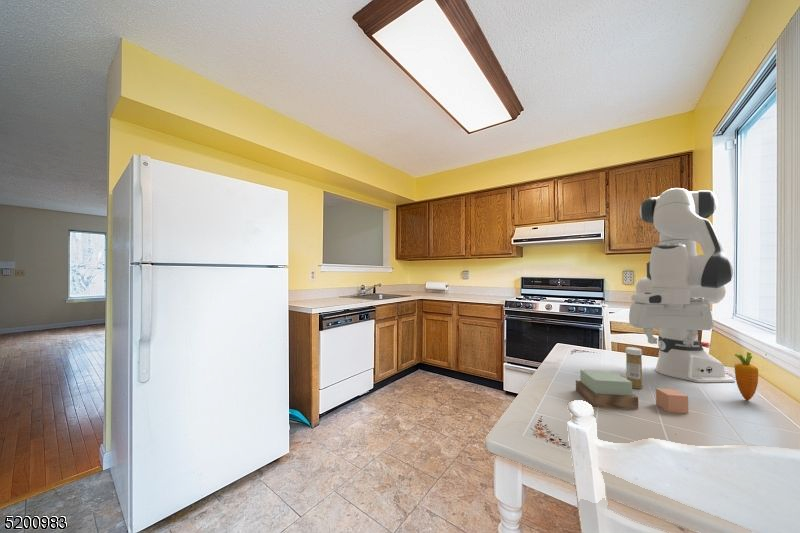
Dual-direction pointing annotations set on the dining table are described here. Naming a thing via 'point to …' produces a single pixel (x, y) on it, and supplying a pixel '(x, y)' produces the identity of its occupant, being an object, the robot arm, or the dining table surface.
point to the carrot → (746, 376)
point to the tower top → (606, 382)
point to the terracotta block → (672, 400)
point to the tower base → (607, 398)
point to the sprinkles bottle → (634, 366)
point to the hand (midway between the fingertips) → (670, 344)
